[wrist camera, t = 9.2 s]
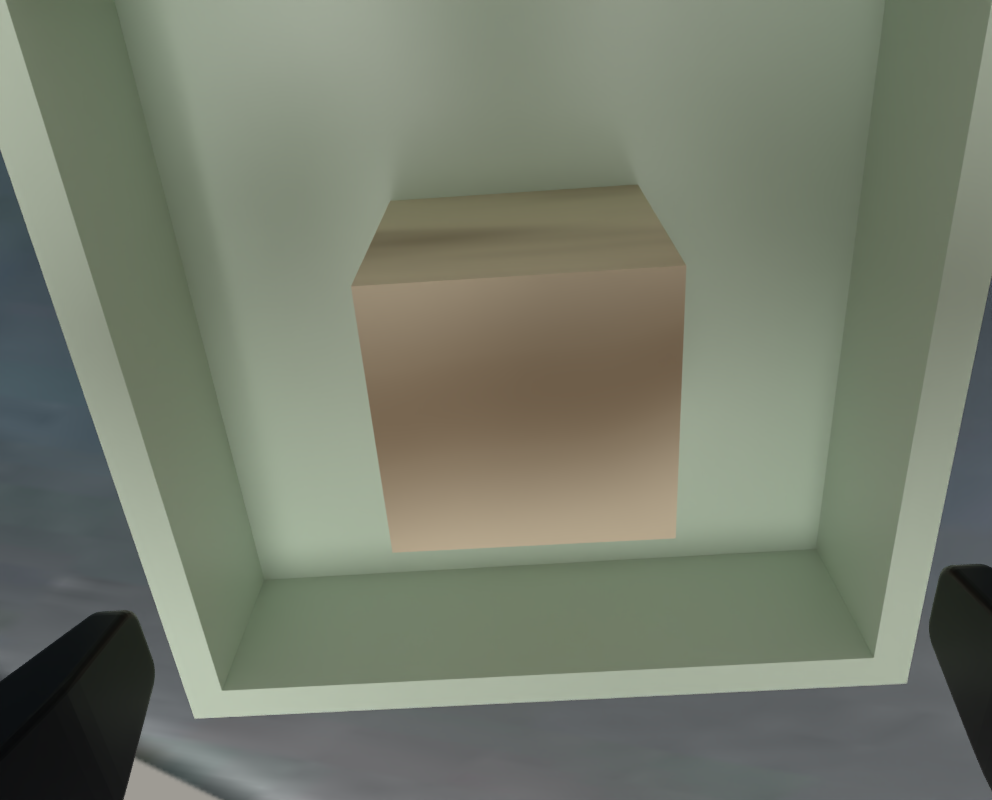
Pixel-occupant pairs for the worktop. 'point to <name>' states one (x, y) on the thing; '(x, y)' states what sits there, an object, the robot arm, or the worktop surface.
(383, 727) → the worktop surface
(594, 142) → the sage bin
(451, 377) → the birch block
